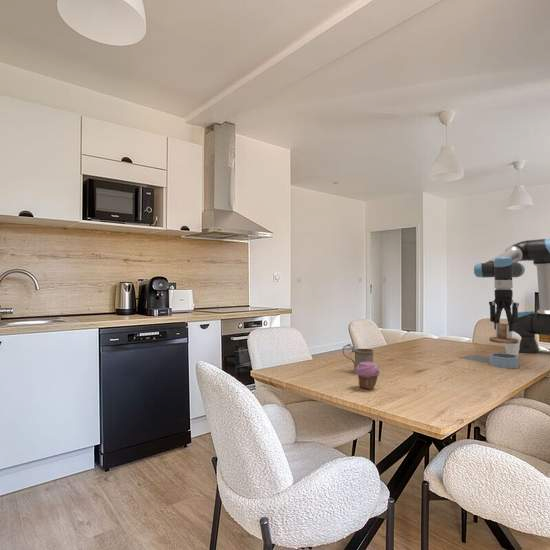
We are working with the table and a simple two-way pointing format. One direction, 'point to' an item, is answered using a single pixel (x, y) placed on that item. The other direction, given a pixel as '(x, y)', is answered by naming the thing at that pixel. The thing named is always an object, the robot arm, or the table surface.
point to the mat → (476, 358)
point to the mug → (360, 356)
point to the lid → (503, 336)
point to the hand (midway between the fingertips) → (503, 337)
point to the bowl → (504, 360)
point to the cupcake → (367, 374)
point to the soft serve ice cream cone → (513, 345)
